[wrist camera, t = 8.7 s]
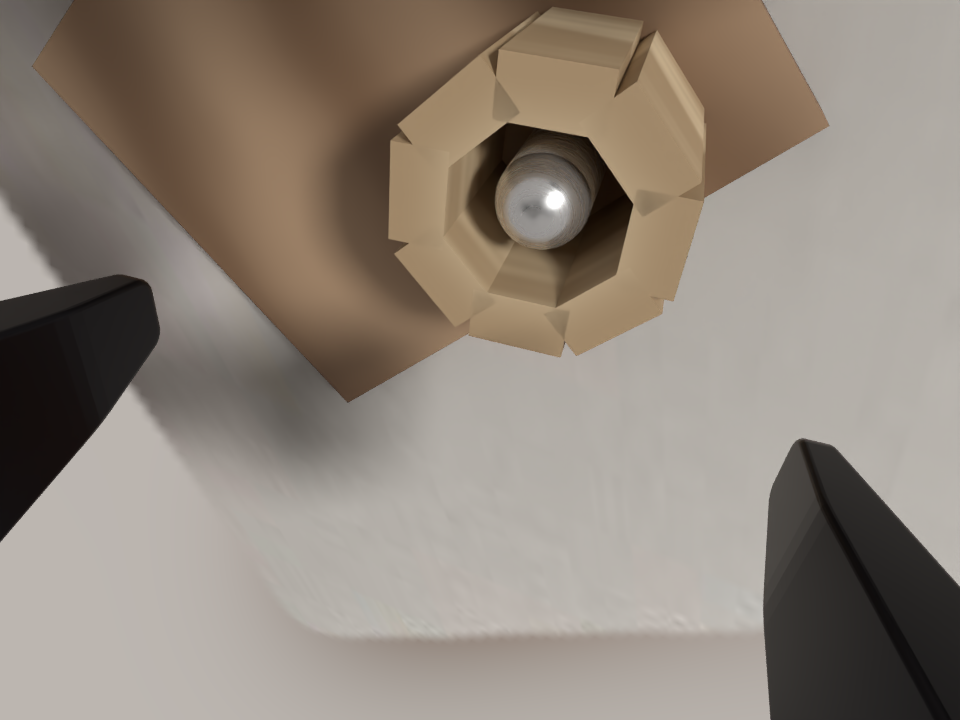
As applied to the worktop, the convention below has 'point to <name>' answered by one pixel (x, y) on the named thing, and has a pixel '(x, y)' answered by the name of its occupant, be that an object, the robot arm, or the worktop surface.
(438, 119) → the wooden octagonal holder
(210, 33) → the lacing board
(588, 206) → the silver metal cylinder
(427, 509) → the worktop surface
